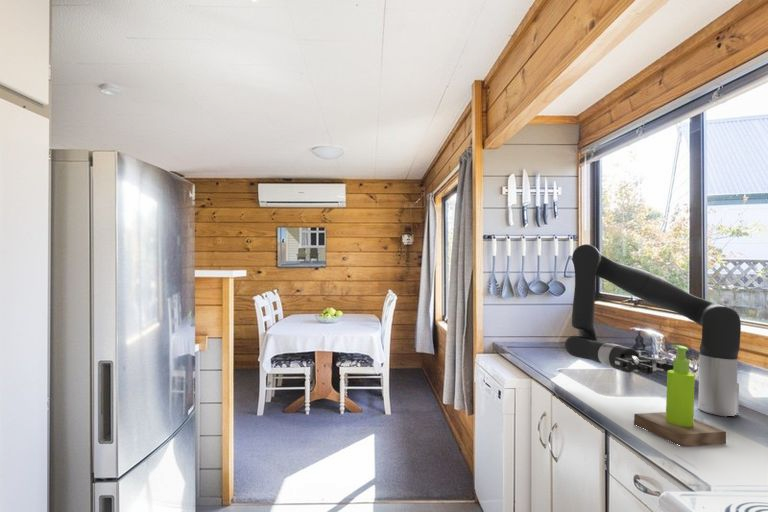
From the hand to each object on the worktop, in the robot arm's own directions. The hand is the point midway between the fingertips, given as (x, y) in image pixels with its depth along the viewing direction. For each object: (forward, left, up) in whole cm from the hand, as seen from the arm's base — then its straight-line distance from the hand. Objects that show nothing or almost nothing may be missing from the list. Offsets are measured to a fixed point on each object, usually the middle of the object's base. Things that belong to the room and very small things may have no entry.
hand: (664, 370), depth 114 cm
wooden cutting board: (0, +5, -15) cm, 16 cm away
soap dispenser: (0, +4, -13) cm, 13 cm away
